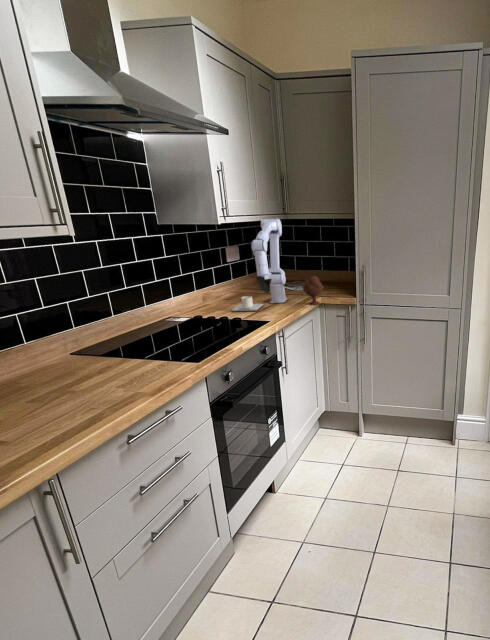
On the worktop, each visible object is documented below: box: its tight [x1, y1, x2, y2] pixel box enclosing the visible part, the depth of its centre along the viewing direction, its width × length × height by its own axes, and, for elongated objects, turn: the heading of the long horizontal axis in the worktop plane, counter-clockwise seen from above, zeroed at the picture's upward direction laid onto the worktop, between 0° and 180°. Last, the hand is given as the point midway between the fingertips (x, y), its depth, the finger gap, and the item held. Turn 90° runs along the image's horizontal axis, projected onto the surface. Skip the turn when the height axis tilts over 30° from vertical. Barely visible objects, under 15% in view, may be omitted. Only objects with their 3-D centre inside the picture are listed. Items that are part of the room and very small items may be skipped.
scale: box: [231, 303, 265, 313], centre depth 231 cm, size 14×13×1 cm
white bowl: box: [240, 295, 254, 308], centre depth 230 cm, size 6×6×5 cm
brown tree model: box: [302, 275, 324, 306], centre depth 236 cm, size 11×11×15 cm
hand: (265, 291), depth 225 cm, fingers open, 7 cm apart
